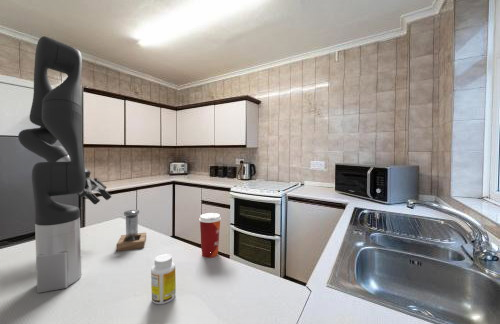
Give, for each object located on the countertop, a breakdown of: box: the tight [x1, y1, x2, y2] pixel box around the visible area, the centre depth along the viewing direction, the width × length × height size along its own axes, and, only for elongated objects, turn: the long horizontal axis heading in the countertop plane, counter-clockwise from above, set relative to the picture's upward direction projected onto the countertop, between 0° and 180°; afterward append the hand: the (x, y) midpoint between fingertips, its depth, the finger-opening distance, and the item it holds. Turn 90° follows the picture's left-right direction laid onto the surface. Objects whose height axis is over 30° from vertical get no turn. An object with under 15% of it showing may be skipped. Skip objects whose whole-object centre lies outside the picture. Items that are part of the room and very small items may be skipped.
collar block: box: [115, 232, 147, 252], centre depth 84 cm, size 9×9×2 cm
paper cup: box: [198, 212, 222, 259], centre depth 76 cm, size 8×8×14 cm
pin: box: [123, 209, 140, 241], centre depth 83 cm, size 5×5×13 cm
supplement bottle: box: [150, 253, 177, 305], centre depth 53 cm, size 6×6×10 cm
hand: (103, 200), depth 83 cm, fingers open, 8 cm apart
